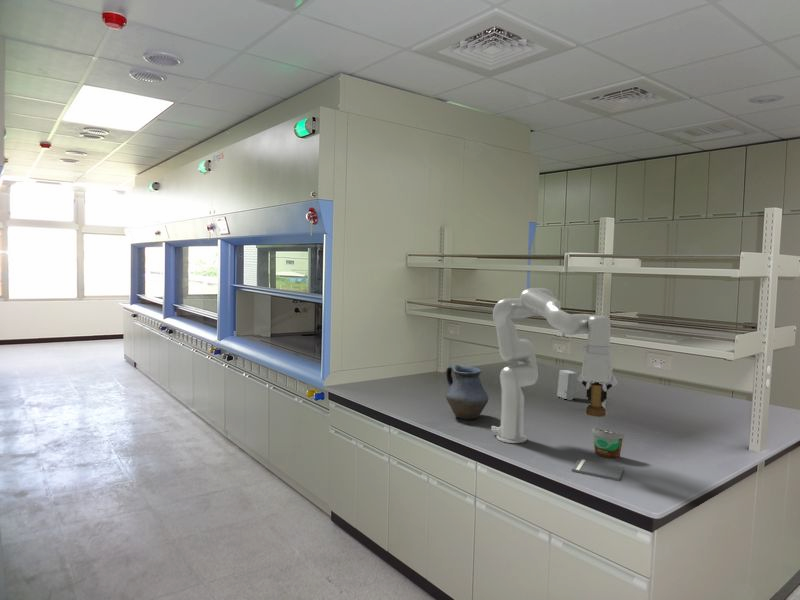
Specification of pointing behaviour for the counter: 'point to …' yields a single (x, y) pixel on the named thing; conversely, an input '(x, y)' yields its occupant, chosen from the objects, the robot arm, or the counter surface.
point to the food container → (607, 443)
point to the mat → (598, 469)
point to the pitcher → (465, 392)
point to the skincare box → (567, 384)
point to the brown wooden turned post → (596, 401)
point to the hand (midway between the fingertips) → (596, 400)
